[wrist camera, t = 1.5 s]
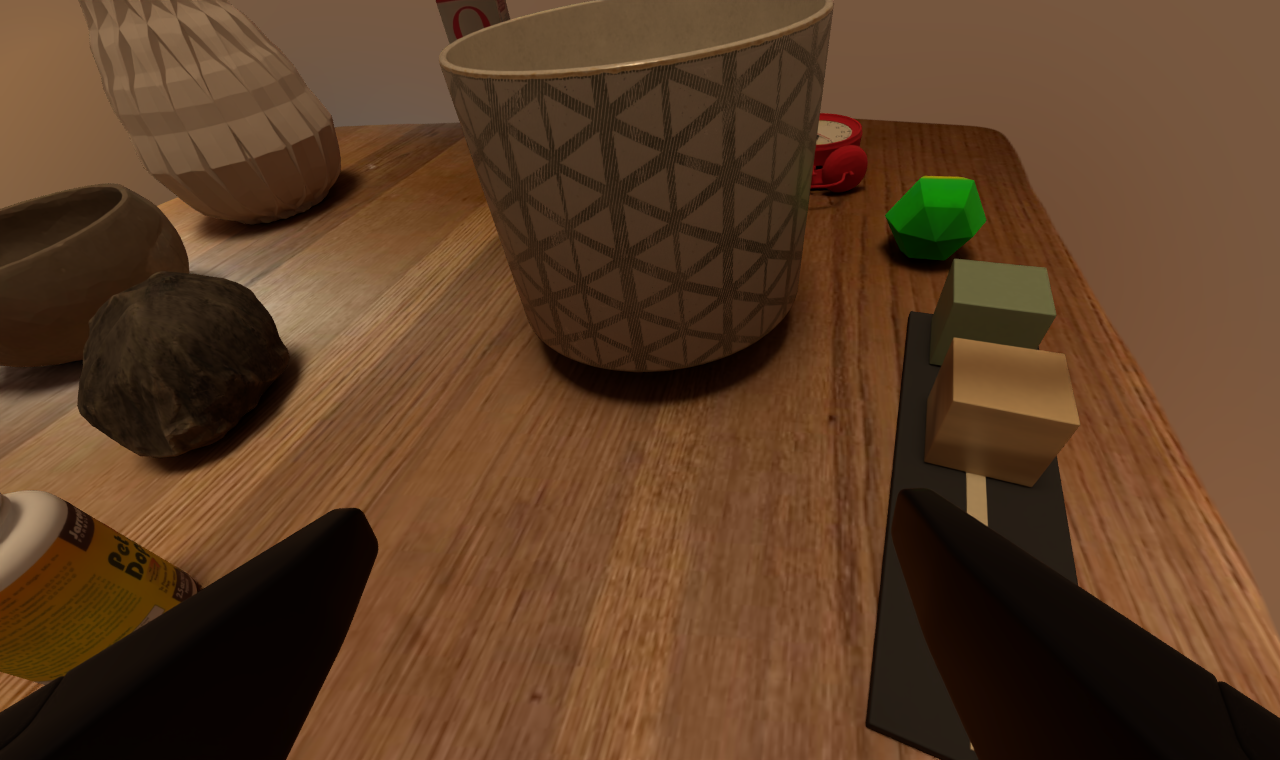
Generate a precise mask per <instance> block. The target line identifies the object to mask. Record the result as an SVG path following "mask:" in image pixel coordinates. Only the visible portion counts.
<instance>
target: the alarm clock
mask: <svg viewBox="0 0 1280 760" xmlns="http://www.w3.org/2000/svg"><path fill="white" fill-rule="evenodd" d="M861 137H862V126H861V124H860V123H859V122H858V121H857V120H855V119H853V118H850V117H847V116H842V115H837V114H825V113H820V116H819V124H818V132H817V140H816V148H815V156H814V164H813V172H812V179H811V187H810V188H827V189H828V190H830V191H833V192H844V191H848V190H850V189H852V188H854V187H855V186H857V185H858V184H859V183H860V182H861V180H862V179H863V177H864V175H865V173H866V170H867V163H868V161H867V155H866V153H865V152H864V150H863V149H861V148H860V141H861Z"/></svg>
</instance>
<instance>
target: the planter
mask: <svg viewBox="0 0 1280 760" xmlns="http://www.w3.org/2000/svg"><path fill="white" fill-rule="evenodd" d="M833 6H834V1H833V0H594V1H589V2H584V3H578V4H573V5H569V6H564V7H559V8H554V9H550V10H546V11H542V12H538V13H534V14H530V15H526V16H522V17H519V18H515V19H511V20H508V21H505V22H501V23H498V24H495V25H492V26H489V27H486V28H483V29H481V30H478V31H476V32H473V33H471V34H468V35H466V36H464V37H462V38H460V39H458V40H456V41H454V42H452V43H451V44H449V45H448V46H447V47H445V48H444V49H443V50H442V52H441V53H440V55H439V62H440V66H441V69H442V72H443V75H444V77H445V80H446V83H447V86H448V89H449V92H450V95H451V98H452V101H453V104H454V107H455V109H456V112H457V115H458V118H459V121H460V124H461V127H462V130H463V133H464V136H465V139H466V141H467V144H468V147H469V150H470V153H471V156H472V159H473V162H474V165H475V168H476V171H477V173H478V176H479V179H480V182H481V185H482V188H483V191H484V194H485V197H486V200H487V203H488V205H489V208H490V211H491V214H492V217H493V220H494V223H495V226H496V229H497V232H498V235H499V237H500V240H501V243H502V246H503V249H504V252H505V255H506V258H507V261H508V264H509V266H510V269H511V272H512V275H513V278H514V281H515V284H516V287H517V290H518V293H519V296H520V298H521V301H522V304H523V307H524V310H525V313H526V316H527V319H528V321H529V323H530V326H531V327H532V329H533V330H534V332H535V333H536V334H537V335H538V337H539V338H540V339H541V340H542V341H543V342H544V343H545V344H547V345H548V346H549V347H550V348H552V349H553V350H555V351H556V352H558V353H560V354H562V355H564V356H566V357H568V358H570V359H572V360H575V361H577V362H580V363H583V364H587V365H590V366H594V367H599V368H604V369H609V370H617V371H629V372H656V371H669V370H676V369H683V368H688V367H693V366H697V365H702V364H705V363H709V362H712V361H715V360H718V359H721V358H724V357H726V356H729V355H732V354H734V353H736V352H738V351H740V350H742V349H745V348H746V347H748V346H750V345H752V344H753V343H755V342H757V341H758V340H760V339H761V338H762V337H764V336H765V335H767V334H768V333H769V332H770V331H771V330H773V329H774V328H775V327H776V326H777V325H778V324H779V323H780V322H781V321H782V320H783V318H784V317H785V316H786V314H787V313H788V311H789V310H790V308H791V306H792V304H793V302H794V300H795V297H796V294H797V289H798V282H799V274H800V266H801V258H802V250H803V242H804V235H805V227H806V219H807V211H808V203H809V195H810V187H811V179H812V172H813V164H814V156H815V148H816V140H817V132H818V124H819V116H820V109H821V101H822V92H823V84H824V77H825V69H826V61H827V53H828V46H829V45H828V44H829V37H830V30H831V21H832V14H833Z"/></svg>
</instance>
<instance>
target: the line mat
mask: <svg viewBox="0 0 1280 760" xmlns="http://www.w3.org/2000/svg"><path fill="white" fill-rule="evenodd" d="M932 317H933V314H928V313H920V312H913V311H911V312H910V314H909V317H908V326H907V335H906V345H905V355H904V364H903V374H902V383H901V393H900V403H899V412H898V422H897V431H896V441H895V451H894V460H893V470H892V479H891V489H890V498H889V508H888V518H887V527H886V537H885V546H884V556H883V566H882V575H881V585H880V594H879V604H878V613H877V623H876V633H875V642H874V652H873V661H872V671H871V681H870V690H869V700H868V709H867V719H866V726H867V727H868V728H870V729H873V730H875V731H877V732H879V733H882V734H884V735H886V736H889V737H891V738H893V739H896V740H898V741H900V742H903V743H905V744H907V745H910V746H912V747H914V748H917V749H919V750H921V751H923V752H926V753H928V754H930V755H933V756H935V757H937V758H940V759H942V760H979V759H978V757H977V755H976V753H975V751H974V748H973V746H972V744H971V742H970V739H969V737H968V735H967V733H966V730H965V728H964V726H963V724H962V722H961V719H960V717H959V715H958V713H957V710H956V708H955V706H954V704H953V701H952V699H951V697H950V695H949V693H948V690H947V688H946V686H945V684H944V681H943V679H942V677H941V675H940V672H939V670H938V668H937V666H936V664H935V661H934V659H933V657H932V655H931V652H930V650H929V647H928V645H927V643H926V640H925V638H924V635H923V632H922V629H921V626H920V624H919V621H918V618H917V615H916V611H915V608H914V605H913V602H912V599H911V596H910V593H909V590H908V587H907V584H906V581H905V578H904V575H903V572H902V568H901V565H900V562H899V559H898V556H897V553H896V550H895V547H894V544H893V540H892V533H891V527H892V521H893V516H894V511H895V506H896V501H897V496H898V493H899V492H900V491H901V490H903V489H909V488H928V489H931V490H933V491H935V492H936V493H938V494H939V495H941V496H942V497H944V498H945V499H947V500H948V501H950V502H951V503H953V504H954V505H956V506H957V507H959V508H960V509H962V510H963V511H965V512H967V513H968V514H970V515H971V516H973V517H974V518H976V519H977V520H979V521H980V522H982V523H983V524H985V525H986V526H988V527H989V528H991V529H992V530H994V531H995V532H997V533H998V534H1000V535H1002V536H1003V537H1005V538H1006V539H1008V540H1009V541H1011V542H1012V543H1014V544H1015V545H1017V546H1018V547H1020V548H1021V549H1023V550H1024V551H1026V552H1027V553H1029V554H1030V555H1032V556H1033V557H1035V558H1036V559H1038V560H1040V561H1041V562H1043V563H1044V564H1046V565H1047V566H1049V567H1050V568H1052V569H1053V570H1055V571H1056V572H1058V573H1059V574H1061V575H1062V576H1064V577H1065V578H1067V579H1068V580H1070V581H1071V582H1073V583H1075V584H1076V585H1078V582H1077V576H1076V570H1075V564H1074V558H1073V552H1072V546H1071V539H1070V533H1069V527H1068V521H1067V515H1066V509H1065V503H1064V497H1063V491H1062V485H1061V479H1060V473H1059V467H1058V461H1057V456H1056V457H1055V458H1054V459H1053V461H1052V462H1051V463H1050V465H1049V466H1048V467H1047V468H1046V470H1045V471H1044V472H1043V474H1042V475H1041V476H1040V477H1039V479H1038V480H1037V481H1036V483H1035V484H1034V485H1033V487H1028V486H1024V485H1020V484H1015V483H1011V482H1007V481H1003V480H999V479H994V478H990V477H986V476H982V475H978V474H973V473H969V472H965V471H961V470H957V469H952V468H948V467H944V466H940V465H936V464H931V463H927V462H924V453H925V434H926V416H927V399H928V397H929V394H930V392H931V390H932V387H933V385H934V383H935V380H936V378H937V375H938V373H939V371H940V368H941V366H939V365H933V364H930V363H929V361H930V343H931V324H932ZM1036 350H1039V346H1038V348H1037V349H1036Z"/></svg>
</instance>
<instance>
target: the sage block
mask: <svg viewBox="0 0 1280 760" xmlns="http://www.w3.org/2000/svg"><path fill="white" fill-rule="evenodd" d="M1055 317H1056V311H1055V306H1054V302H1053V297H1052V293H1051V288H1050V283H1049V279H1048V274H1047V269H1046V268H1042V267H1032V266H1022V265H1012V264H1002V263H992V262H982V261H972V260H962V259H954V260H953V263H952V266H951V268H950V271H949V274H948V276H947V279H946V282H945V285H944V287H943V290H942V293H941V295H940V298H939V301H938V304H937V306H936V309H935V312H934V314H933V317H932V324H931V343H930V361H929V363H930V364H933V365H939V366H942V364H943V361H944V359H945V356H946V354H947V352H948V349H949V347H950V344H951V342H952V340H953V338H954V337H955V338H962V339H968V340H975V341H982V342H988V343H995V344H1001V345H1008V346H1014V347H1021V348H1028V349H1034V350H1036V349H1037V348H1038V346H1039V344H1040V343H1041V341H1042V339H1043V337H1044V336H1045V334H1046V332H1047V331H1048V329H1049V327H1050V325H1051V324H1052V322H1053V320H1054V319H1055Z"/></svg>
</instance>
